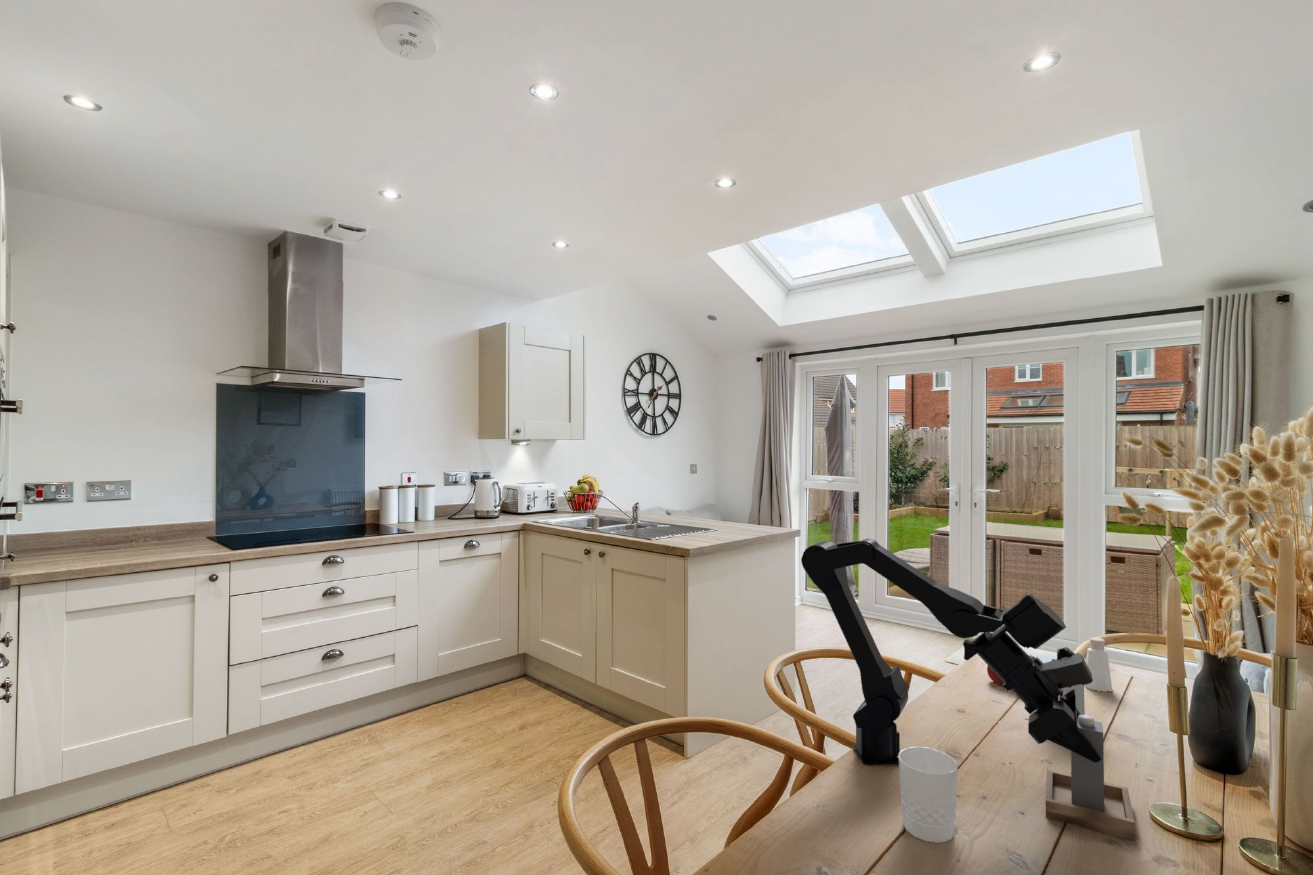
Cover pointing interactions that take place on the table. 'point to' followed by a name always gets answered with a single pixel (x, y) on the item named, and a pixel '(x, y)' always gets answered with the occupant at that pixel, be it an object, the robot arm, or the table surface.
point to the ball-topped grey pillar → (1088, 768)
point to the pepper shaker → (1098, 666)
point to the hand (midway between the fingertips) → (1097, 752)
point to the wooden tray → (1110, 821)
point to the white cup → (928, 793)
